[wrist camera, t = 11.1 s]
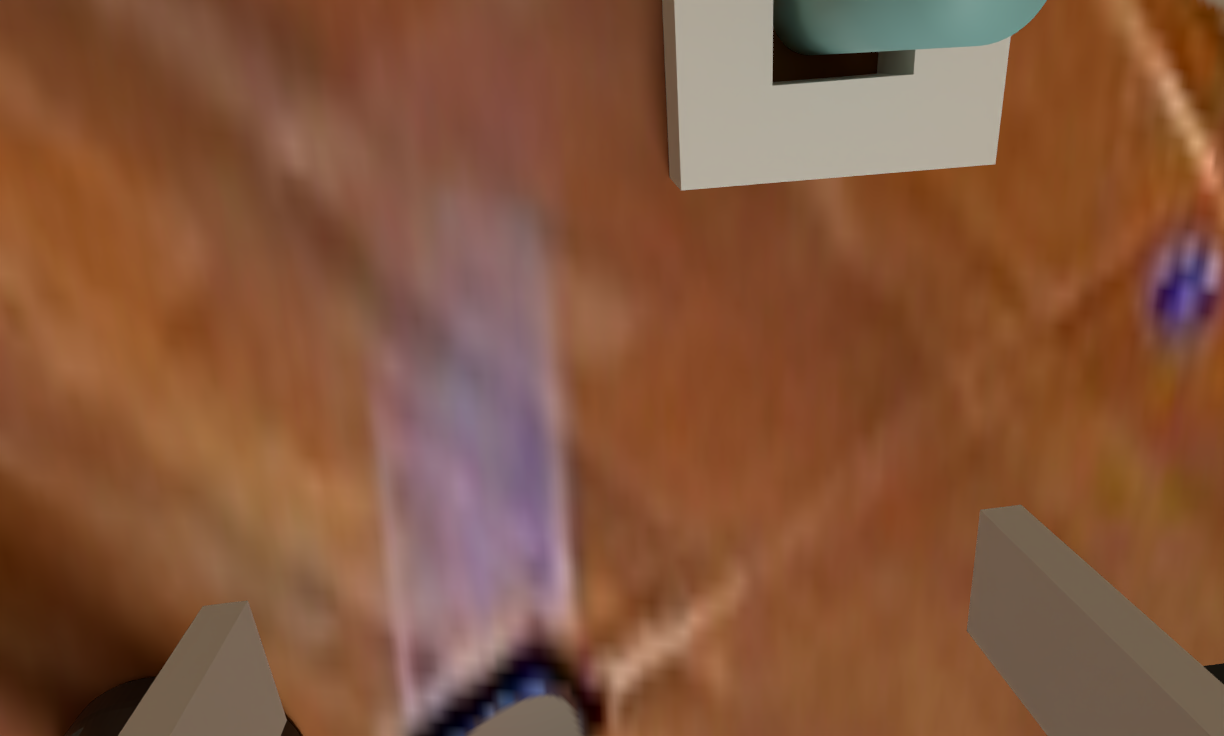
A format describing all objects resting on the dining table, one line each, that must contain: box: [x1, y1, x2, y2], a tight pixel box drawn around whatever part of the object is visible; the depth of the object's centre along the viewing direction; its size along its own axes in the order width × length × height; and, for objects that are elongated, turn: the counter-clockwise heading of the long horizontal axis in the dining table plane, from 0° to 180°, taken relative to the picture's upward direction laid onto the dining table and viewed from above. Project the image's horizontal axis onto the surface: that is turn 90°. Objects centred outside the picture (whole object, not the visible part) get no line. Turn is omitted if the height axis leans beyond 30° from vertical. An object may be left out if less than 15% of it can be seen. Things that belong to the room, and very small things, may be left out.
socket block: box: [662, 0, 1011, 190], centre depth 32 cm, size 14×14×4 cm
